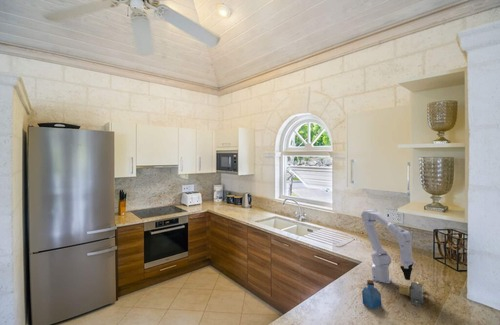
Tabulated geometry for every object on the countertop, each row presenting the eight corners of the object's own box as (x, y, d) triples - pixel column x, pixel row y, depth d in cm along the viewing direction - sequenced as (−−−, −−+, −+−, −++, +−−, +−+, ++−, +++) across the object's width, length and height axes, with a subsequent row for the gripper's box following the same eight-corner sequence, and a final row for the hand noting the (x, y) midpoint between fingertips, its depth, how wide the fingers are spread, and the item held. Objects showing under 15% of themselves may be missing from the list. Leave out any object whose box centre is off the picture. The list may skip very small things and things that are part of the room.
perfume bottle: (362, 303, 125) (361, 280, 126) (371, 300, 127) (369, 277, 128) (372, 309, 119) (370, 285, 120) (381, 306, 121) (379, 282, 122)
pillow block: (410, 304, 122) (409, 291, 122) (412, 291, 135) (411, 279, 135) (422, 307, 119) (421, 293, 119) (423, 293, 132) (422, 281, 132)
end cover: (399, 295, 130) (399, 285, 130) (400, 291, 134) (400, 282, 134) (419, 300, 124) (418, 290, 124) (420, 295, 128) (419, 286, 129)
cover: (413, 291, 135) (413, 283, 135) (414, 287, 139) (413, 279, 139) (425, 293, 132) (424, 285, 132) (425, 289, 136) (424, 282, 136)
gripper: (413, 257, 127) (416, 283, 126) (415, 250, 138) (417, 274, 137) (398, 255, 131) (400, 280, 130) (400, 248, 142) (402, 271, 142)
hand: (408, 277), depth 134 cm, fingers open, 7 cm apart
